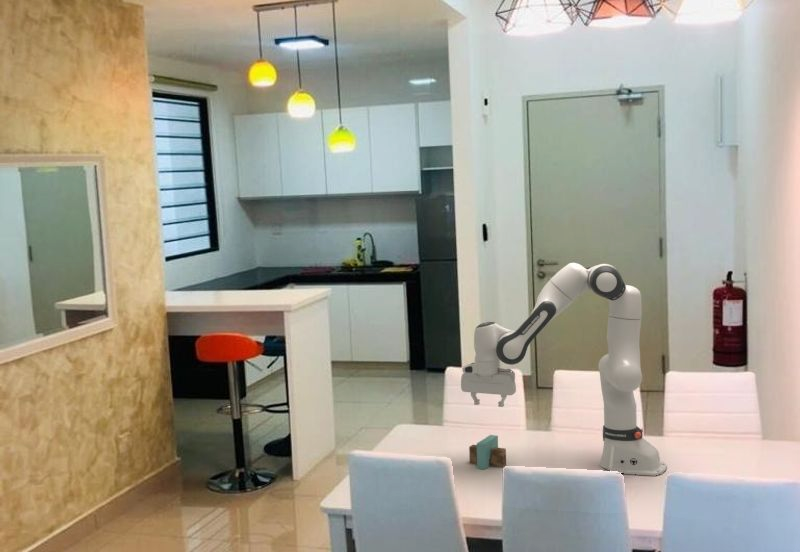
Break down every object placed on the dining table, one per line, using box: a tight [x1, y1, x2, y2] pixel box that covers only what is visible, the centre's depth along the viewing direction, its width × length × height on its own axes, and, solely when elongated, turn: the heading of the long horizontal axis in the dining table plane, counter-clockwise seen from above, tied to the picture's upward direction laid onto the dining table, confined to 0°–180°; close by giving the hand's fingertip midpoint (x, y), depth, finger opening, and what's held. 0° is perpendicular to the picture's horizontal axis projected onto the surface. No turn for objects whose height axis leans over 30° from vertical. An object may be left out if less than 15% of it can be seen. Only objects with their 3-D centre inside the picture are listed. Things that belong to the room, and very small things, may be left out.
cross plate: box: [476, 434, 499, 470], centre depth 308 cm, size 12×3×9 cm, turn 150°
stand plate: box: [468, 444, 507, 468], centre depth 308 cm, size 13×3×6 cm, turn 60°
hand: (489, 405), depth 306 cm, fingers open, 8 cm apart
